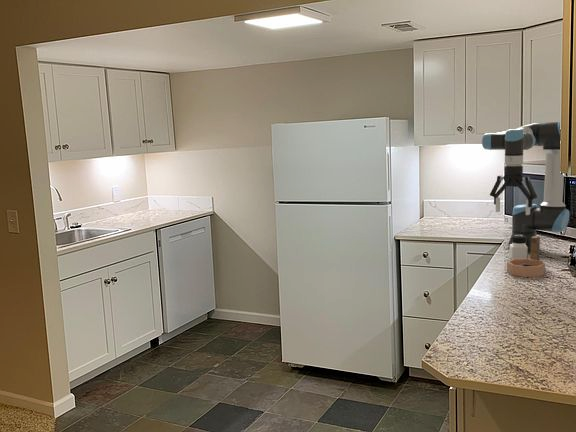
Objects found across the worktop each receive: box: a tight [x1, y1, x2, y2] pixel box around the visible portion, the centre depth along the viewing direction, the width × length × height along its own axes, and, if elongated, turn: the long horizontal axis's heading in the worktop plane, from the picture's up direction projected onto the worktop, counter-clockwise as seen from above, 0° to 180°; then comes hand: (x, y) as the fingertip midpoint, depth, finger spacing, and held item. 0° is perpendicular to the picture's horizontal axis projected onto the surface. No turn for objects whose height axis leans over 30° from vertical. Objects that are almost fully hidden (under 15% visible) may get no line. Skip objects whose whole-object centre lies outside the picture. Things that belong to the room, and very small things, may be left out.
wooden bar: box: [529, 235, 541, 260], centre depth 270 cm, size 4×2×14 cm, turn 136°
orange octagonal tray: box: [506, 258, 546, 278], centre depth 262 cm, size 15×15×4 cm
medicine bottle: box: [508, 235, 529, 261], centre depth 284 cm, size 7×7×12 cm
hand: (512, 213), depth 261 cm, fingers open, 13 cm apart
